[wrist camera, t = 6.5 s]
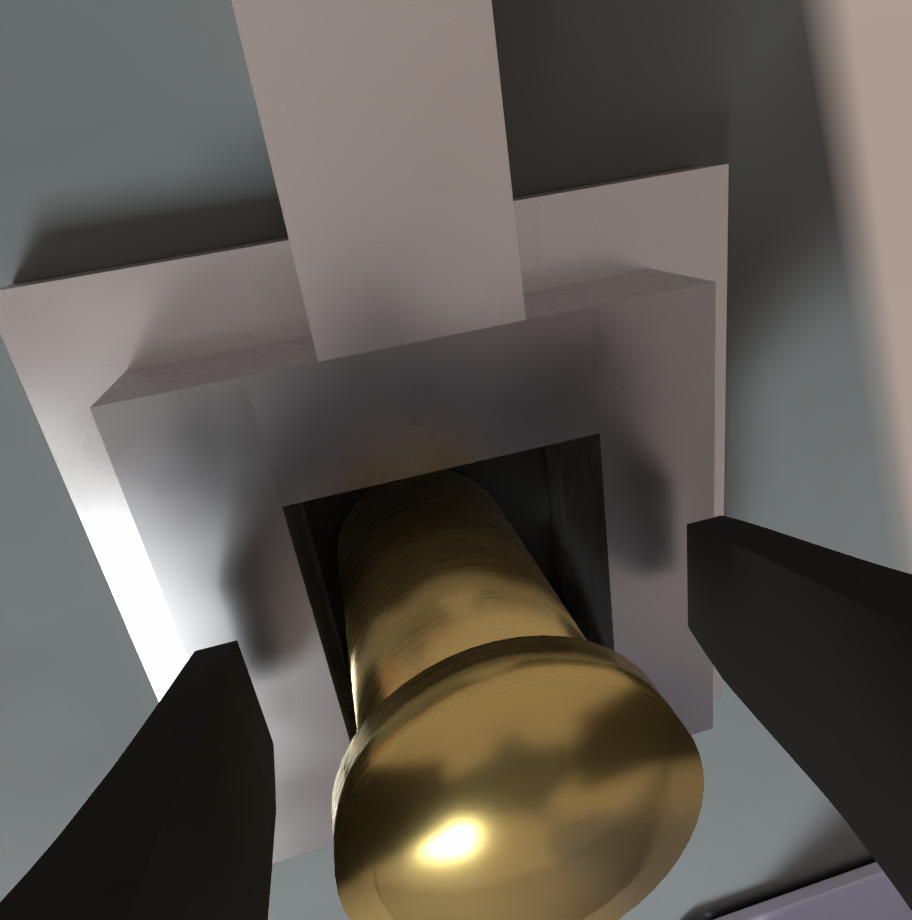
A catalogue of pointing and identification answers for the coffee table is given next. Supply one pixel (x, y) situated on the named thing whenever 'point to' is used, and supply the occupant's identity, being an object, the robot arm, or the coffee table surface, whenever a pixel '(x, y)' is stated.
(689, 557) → the robot arm
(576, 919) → the pin
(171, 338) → the white stepped square fixture
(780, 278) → the coffee table surface
